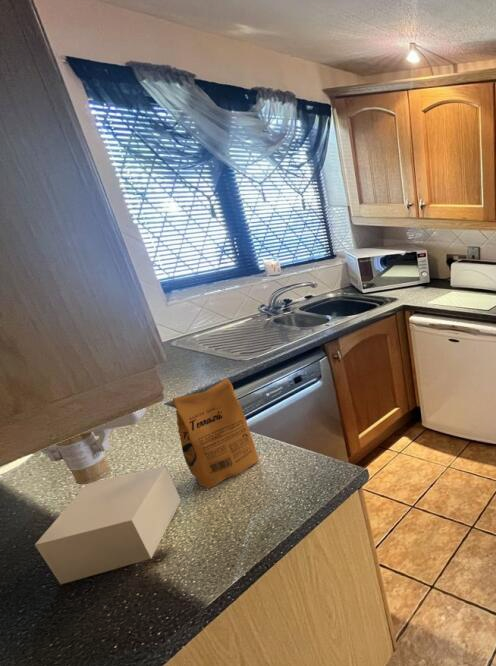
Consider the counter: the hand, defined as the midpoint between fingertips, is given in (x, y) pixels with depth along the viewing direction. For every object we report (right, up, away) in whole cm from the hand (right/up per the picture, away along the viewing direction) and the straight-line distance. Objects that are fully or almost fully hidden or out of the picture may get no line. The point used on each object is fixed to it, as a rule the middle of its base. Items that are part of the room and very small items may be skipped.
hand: (82, 453), depth 67 cm
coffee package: (+7, -12, +25) cm, 29 cm away
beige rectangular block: (0, -19, +7) cm, 20 cm away
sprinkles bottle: (0, -5, +2) cm, 5 cm away
